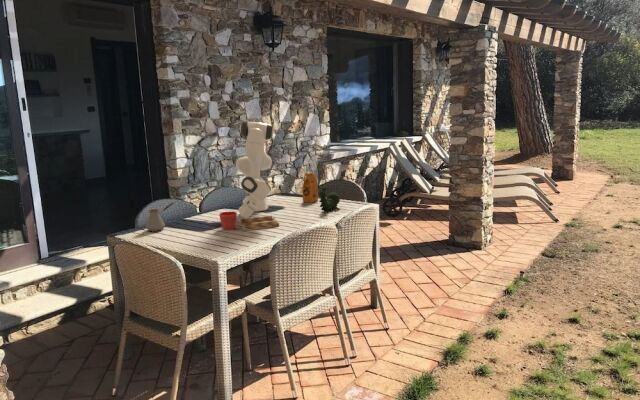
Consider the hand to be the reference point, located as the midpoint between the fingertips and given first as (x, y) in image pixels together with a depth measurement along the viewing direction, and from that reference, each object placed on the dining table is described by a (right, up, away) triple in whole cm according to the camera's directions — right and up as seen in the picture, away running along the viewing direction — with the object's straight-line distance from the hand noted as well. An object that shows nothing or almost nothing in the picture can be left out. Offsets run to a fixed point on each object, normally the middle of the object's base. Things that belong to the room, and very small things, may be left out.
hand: (236, 220), depth 308 cm
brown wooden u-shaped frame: (+13, -3, +4) cm, 14 cm away
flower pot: (-5, -5, 0) cm, 7 cm away
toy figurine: (+59, +6, +40) cm, 71 cm away
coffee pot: (-49, -6, +8) cm, 49 cm away
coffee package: (+44, +12, +72) cm, 85 cm away
